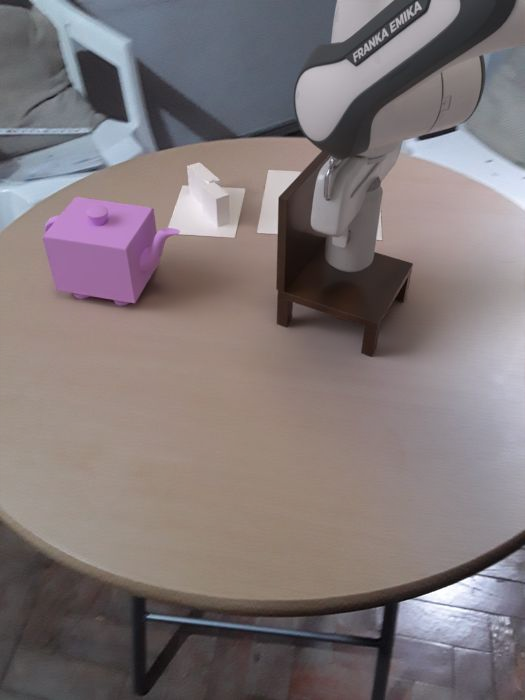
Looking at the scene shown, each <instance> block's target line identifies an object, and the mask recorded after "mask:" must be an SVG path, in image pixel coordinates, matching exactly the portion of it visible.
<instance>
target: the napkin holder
mask: <svg viewBox="0 0 525 700" xmlns="http://www.w3.org/2000/svg"><path fill="white" fill-rule="evenodd" d="M186 169H187V181H188V183H187V185H185V184H184V185H183V184H182V186H181V190H180V192H179V195H178V197H177V200H176V204H175V206H174V209H173V212H172V215H171V218H170V220H169V223H168V226H167V228H174V229H178V230H179V231H180V232H179V233H178V234H177V235H184V236H199V237H217V238H230V239H231V238H233V239H234V238H236V234H237V230H238V225H239V220H240V216H241V211H242V207H243V204H244V203H243V202H244V197H245V193H246V188H241V187H240V188H239V187H222V186H221V179H220V178H219V177H218V176H217V175H215V174H214V173H212V171H211V170H209V169H208V168H207V167H206V166H204V165H203V164H202V163H201V162H199V161H198V162H196V163H192V164H189V165H187V166H186Z"/></svg>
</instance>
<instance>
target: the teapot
mask: <svg viewBox="0 0 525 700" xmlns="http://www.w3.org/2000/svg"><path fill="white" fill-rule="evenodd" d="M156 224H157V223H156V216H155V209H154V208H153V207H148V206H144V205H143V206H142V205H136V204H130V203H123V202H115V201H109V200H102V199H95V198H88V197H80V196H74V198H73V199H72V201H71V202H70V203H69V204H68V205H67V206H66V207H65V209H64V210H63V211H62V212H61V213H60V214H56V215H53V216H51V217H49V219H48V220H46V222H45V225H44V232H45V233H44V234H43V235H42V237H41V238H42V243H43V245H44V249H45V252H46V253H45V254H46V256H47V260H48V264H49V269H50V272H51V276H52V279H53V282H54V287H55V290H56V291H59V292H65V293H71V294H73V295H74V297H75V298H77V299H80V300H83V299H87V298H89V297H95V298H101V299H107V300H112V301H113V303H114V304H115V305H117V306H127V305H129V304H130V303H131V304H136V303H137V301H138V300H139V298H140V296H141V294H142V292H143V290H144V289H145V287H146V286H147V285H148V283H149V282H150V281H149V280H150V279H151V277H152V276H153V274H154V272H155V270H156V268H157V267H158V266H159V264H160V262H161V258H162V256H163V253H164V248H165V244H166V241H167V240H168V239H169V238H170V237H173V236H176V235H179V234H178V233H179V232H180V231H179V230H178V229H174V228H168V227H167V228H166V227H164V228H162V229H160V230H158V231H157V225H156Z"/></svg>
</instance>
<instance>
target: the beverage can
mask: <svg viewBox="0 0 525 700" xmlns="http://www.w3.org/2000/svg"><path fill="white" fill-rule="evenodd" d="M381 184H382V182H381V180H380V178H379V177H378V178H377V179H376V180H375V182H374V183H373V184H372V186H371V187H370V188H369V190H367V192H366V197H365V200H364V203H363V206H362V208H361V210H360V211H359V212H358V214H357V215H356V216H355V218H354V219H353V220H352V222H351V223H350V224H349V226H348V230H351V235H350V241H349V242H348V244H347V245H346V246H345V247H344V248H341V247H338V246H335V245H333V243H332V236H329V235H326V245H325V258H326V260H327V262H328V263H329V264H330V265H332V266H333V267H335V268H337V269H339V270H341V271H345V272H357V271H360V270H363V269H364V268H366V267H368V266H369V265H370V264H371V263H372V261H373V258H374V252H376V244H377V243H376V242H377V240H376V237H377V230H378V223H379V215H380V208H381V209H382V201H383V193H384V192H383V191H384V190H383V187H382V185H381Z"/></svg>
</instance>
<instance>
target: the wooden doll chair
mask: <svg viewBox="0 0 525 700" xmlns="http://www.w3.org/2000/svg"><path fill="white" fill-rule="evenodd" d="M331 157H332V156H330V155H328V154H326V153H325V152H323V151H322V150H320V152H319V153H318V155H317V156H316V157H314V159H313V160H311V162H310V163H309V164H308V165H307V166H306V168H304V169H303V171H301V172H302V173H301V174H300V175H299V176H298V177H297V178H296V179H295V180H294V181H293V182H292V183H291V185H290V186H289V187H288V188H287V189H286V190H285V191H284V192H283V193H282V194H281V195H280V196H279V197H278V234H277V239H276V240H277V241H276V242H277V245H276V283H275V284H276V287H275V288H276V290H277V299H276V300H277V301H276V307H277V308H276V325H279V326H281V327H284V328H289V326H290V325H291V323H292V321H293V308H294V307H293V306H294V304H297V305H300V306H303V307H305V308H309V309H312V310H315V311H318V312H321V313H324V314H327V315H330V316H333V317H336V318H339V319H342V320H345V321H348V322H351V323H354V324H357V325H360V326H362V327H364V329H363V336H362V344H361V348H360V349H361V350H360V354H362V355H364V356H368V357H370V358H373V357H374V355H375V353H376V351H377V349H378V342H379V336H380V331H381V325H382V324H381V323H382V322H383V320H384V318H385V316H387V313H388V311H389V310H390V308H391V306H392V305H393V303H394V301H397V302H399V303H405V300H406V299H407V297H408V292H409V287H410V282H411V278H412V274H413V273H412V272H413V267H414V263H413V262H410V261H406V260H403V259H401V258H400V259H399V258H396V257H392V256H390V255H386V254H383V253H379V252H376V251H374V258H373V261H372V263H371V264H370V265H369V266H368V267H366V268H364V269H363V270H360V271H357V272H345V271H341V270H339V269H337V268H335V267H333V266H332V265H330V264H329V263H328V262H327V260H326V258H325V245H326V235H325V234H322V233H319V232H316V231H314V230H313V228H312V226H311V213H312V205H313V197H314V190H315V185H316V180H317V177H318V174H319V172H320V170H321V168H322V167H323V166H324V164H325V163H326V162H327V161H328V160H329V159H330V158H331Z"/></svg>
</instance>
